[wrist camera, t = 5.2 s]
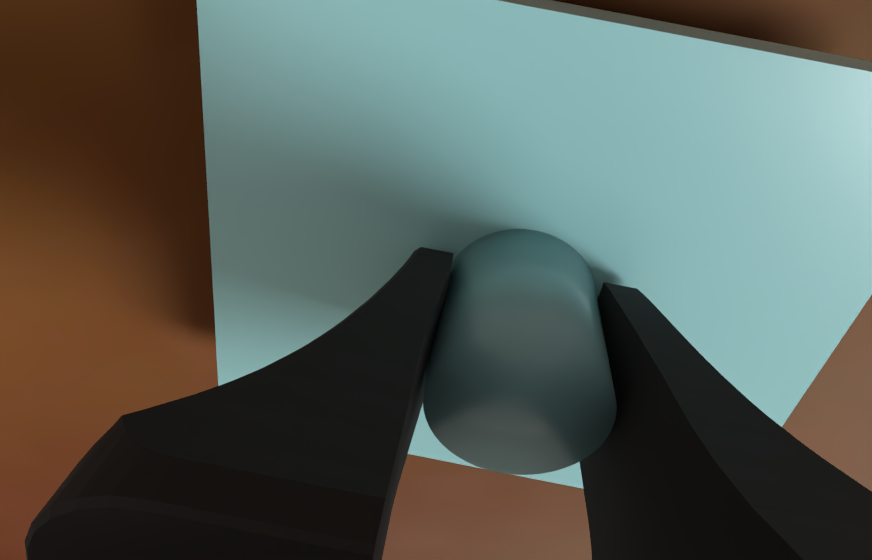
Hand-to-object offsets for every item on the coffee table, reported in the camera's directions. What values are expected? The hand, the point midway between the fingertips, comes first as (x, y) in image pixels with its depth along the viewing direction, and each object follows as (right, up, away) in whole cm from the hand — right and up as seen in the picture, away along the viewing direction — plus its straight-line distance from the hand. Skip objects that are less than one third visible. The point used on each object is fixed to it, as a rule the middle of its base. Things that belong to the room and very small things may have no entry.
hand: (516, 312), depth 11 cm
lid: (0, +1, +1) cm, 1 cm away
